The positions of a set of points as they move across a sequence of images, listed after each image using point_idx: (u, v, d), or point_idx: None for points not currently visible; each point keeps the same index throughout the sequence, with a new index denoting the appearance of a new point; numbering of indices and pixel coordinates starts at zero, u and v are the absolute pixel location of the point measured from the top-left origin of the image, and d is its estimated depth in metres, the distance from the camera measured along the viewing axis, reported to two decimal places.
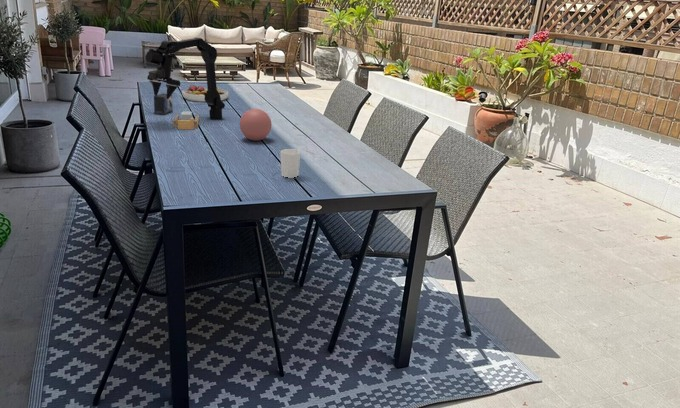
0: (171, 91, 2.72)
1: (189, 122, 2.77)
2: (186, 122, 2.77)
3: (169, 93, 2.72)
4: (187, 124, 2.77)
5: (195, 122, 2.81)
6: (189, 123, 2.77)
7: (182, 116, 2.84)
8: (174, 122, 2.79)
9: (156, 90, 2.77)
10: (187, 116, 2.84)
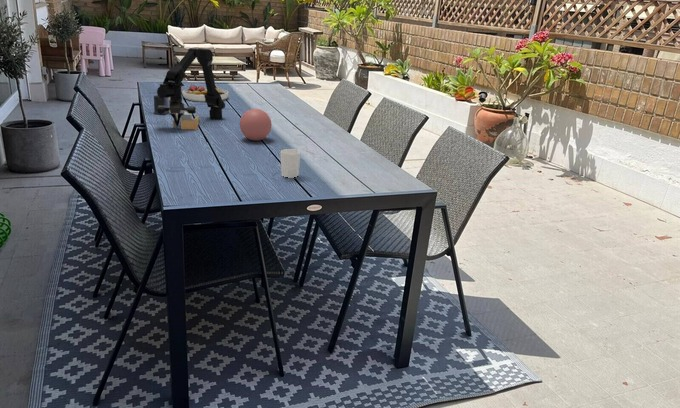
0: None
1: (192, 122, 2.77)
2: (189, 122, 2.77)
3: (179, 120, 2.77)
4: (190, 124, 2.78)
5: None
6: (192, 123, 2.78)
7: (182, 116, 2.84)
8: (174, 122, 2.79)
9: None
10: (187, 116, 2.84)
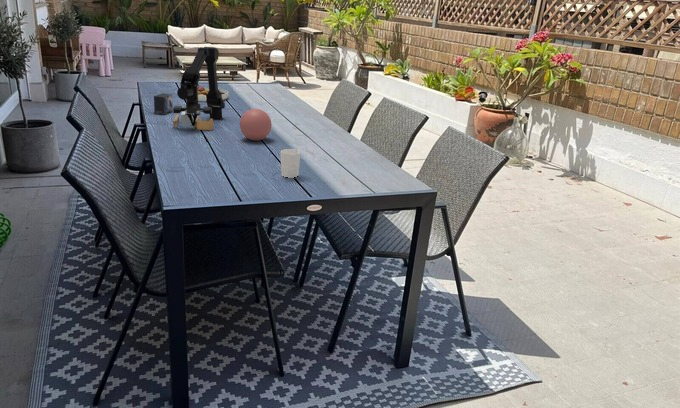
0: None
1: (208, 122, 2.79)
2: (205, 123, 2.79)
3: None
4: (206, 124, 2.79)
5: (195, 122, 2.81)
6: (208, 123, 2.79)
7: (182, 116, 2.84)
8: (174, 122, 2.79)
9: None
10: (187, 116, 2.84)
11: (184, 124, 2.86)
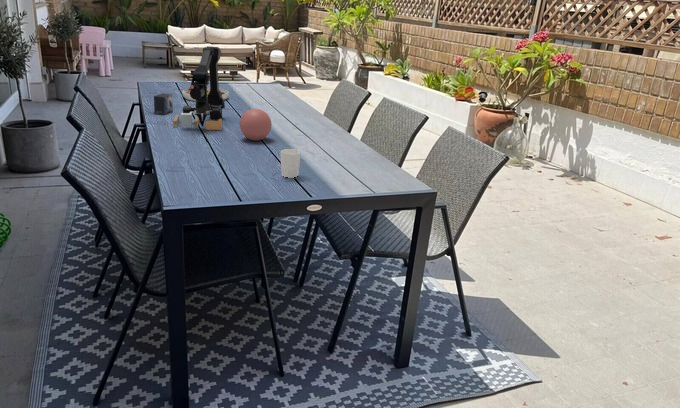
0: None
1: (217, 122, 2.80)
2: (214, 123, 2.80)
3: None
4: (215, 124, 2.80)
5: (195, 122, 2.81)
6: (217, 123, 2.80)
7: (182, 116, 2.84)
8: (174, 122, 2.79)
9: None
10: (187, 116, 2.84)
11: (184, 124, 2.86)
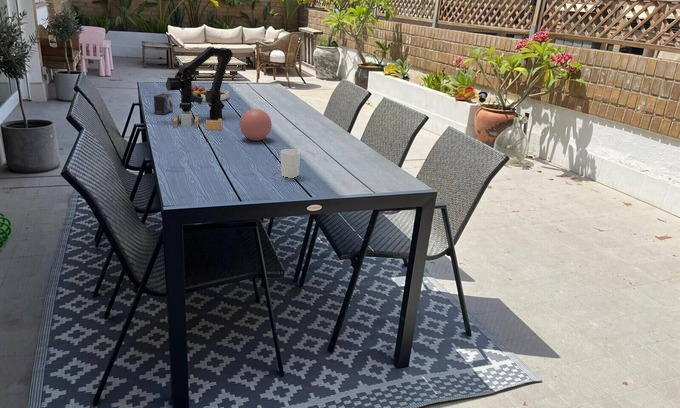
0: None
1: (217, 122, 2.80)
2: (214, 123, 2.80)
3: None
4: (215, 124, 2.80)
5: (195, 122, 2.81)
6: (217, 123, 2.80)
7: (182, 116, 2.84)
8: (174, 122, 2.79)
9: None
10: (187, 116, 2.84)
11: (184, 124, 2.85)
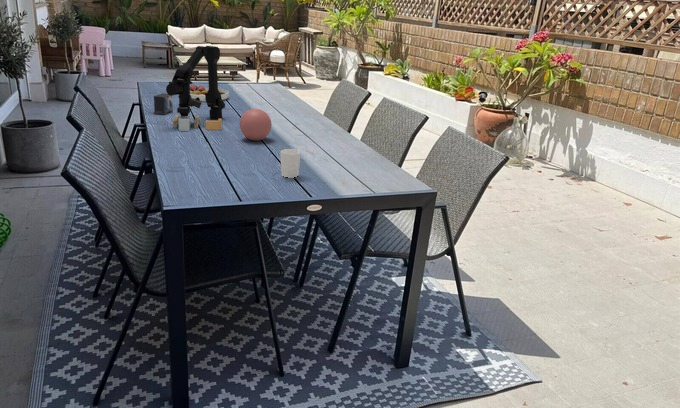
0: None
1: (217, 122, 2.80)
2: (214, 123, 2.80)
3: None
4: (215, 124, 2.80)
5: (195, 122, 2.81)
6: (217, 123, 2.80)
7: (179, 121, 2.73)
8: (174, 122, 2.79)
9: None
10: (185, 121, 2.73)
11: (182, 129, 2.74)
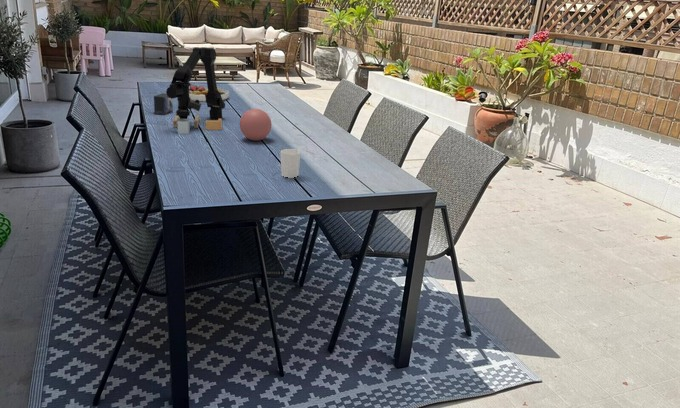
0: None
1: (217, 122, 2.80)
2: (214, 123, 2.80)
3: None
4: (215, 124, 2.80)
5: (195, 122, 2.81)
6: (217, 123, 2.80)
7: (179, 124, 2.67)
8: (174, 122, 2.79)
9: None
10: (184, 124, 2.67)
11: (181, 132, 2.69)
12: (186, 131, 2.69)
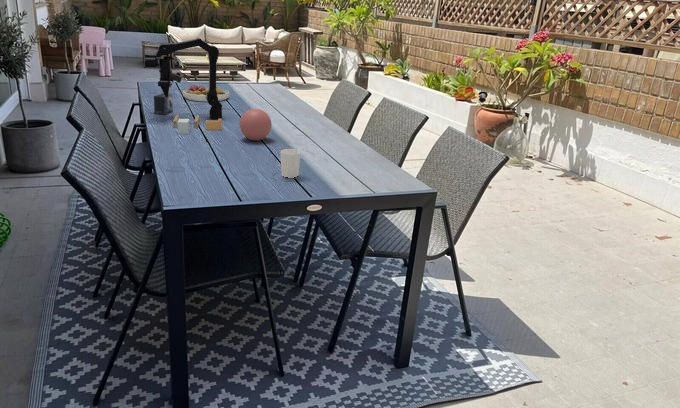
0: None
1: (217, 122, 2.80)
2: (214, 123, 2.80)
3: None
4: (215, 124, 2.80)
5: (195, 122, 2.81)
6: (217, 123, 2.80)
7: (179, 124, 2.67)
8: (174, 122, 2.79)
9: None
10: (184, 124, 2.67)
11: (181, 132, 2.69)
12: (186, 131, 2.69)
